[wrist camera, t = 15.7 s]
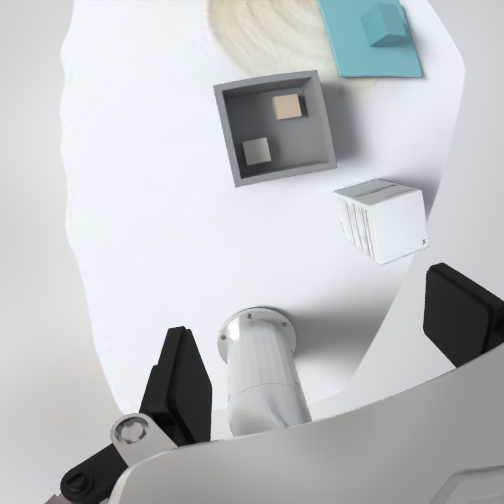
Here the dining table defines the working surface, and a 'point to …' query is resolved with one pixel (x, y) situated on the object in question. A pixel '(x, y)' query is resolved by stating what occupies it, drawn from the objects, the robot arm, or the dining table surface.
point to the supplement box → (383, 219)
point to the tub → (275, 127)
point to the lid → (369, 38)
